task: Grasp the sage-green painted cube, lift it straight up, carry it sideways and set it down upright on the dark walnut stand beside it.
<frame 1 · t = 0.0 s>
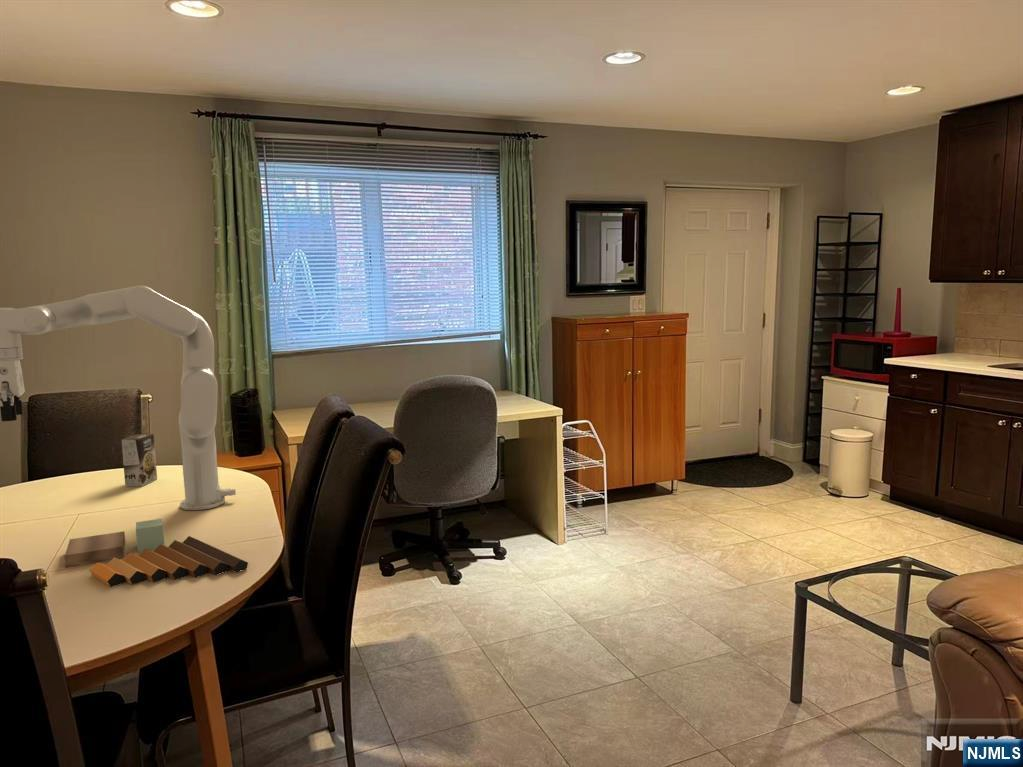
hand: (12, 417, 188), 31 cm above the table, tool pointing down, fingers open, 9 cm apart
sage cube: (151, 546, 179), on the table
pan flute: (170, 575, 162), on the table
walnut stand: (97, 554, 174), on the table
coffee box: (141, 483, 237), on the table
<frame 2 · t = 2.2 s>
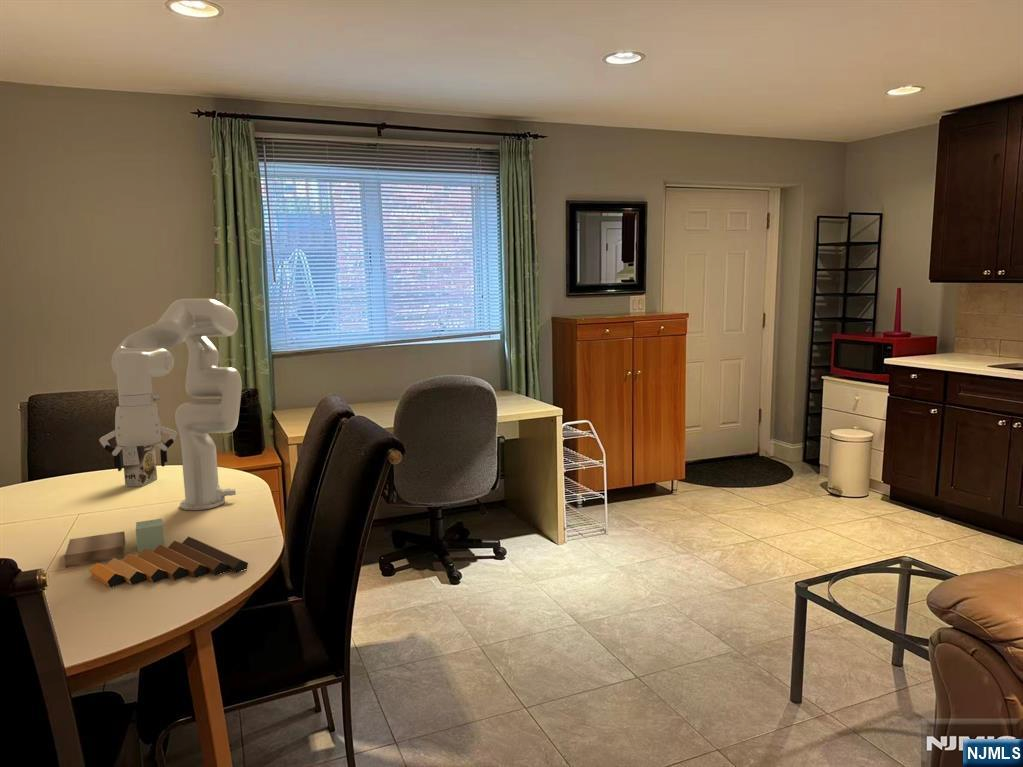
hand: (141, 467, 176), 21 cm above the table, tool pointing down, fingers open, 9 cm apart
nothing on the table moved.
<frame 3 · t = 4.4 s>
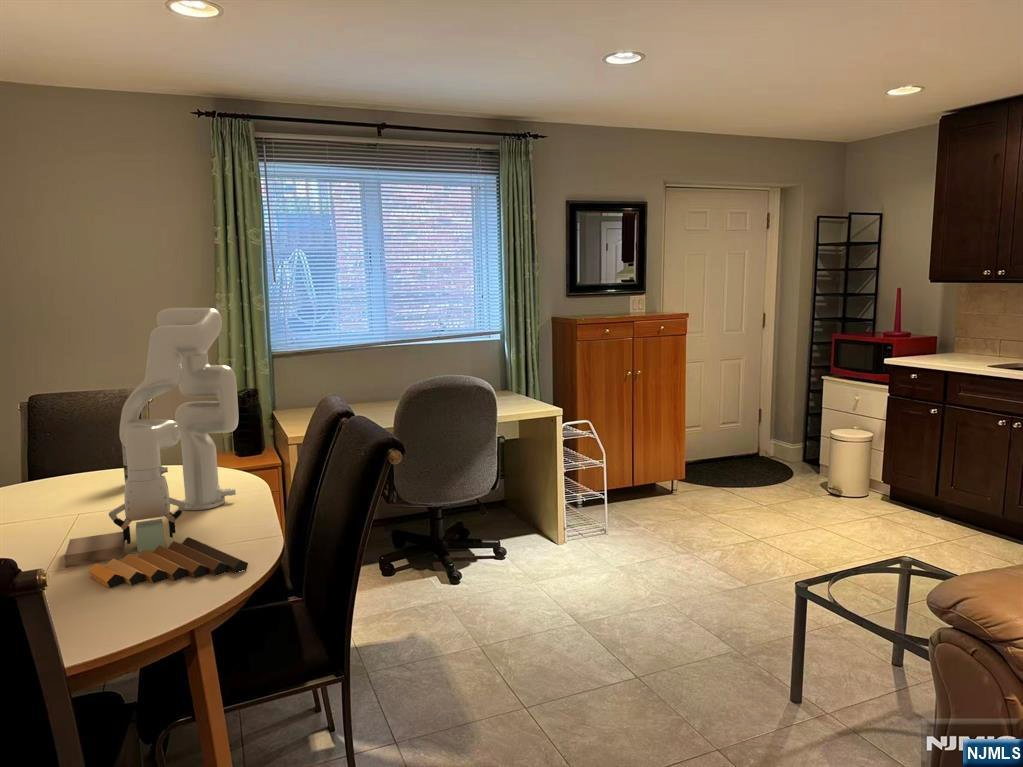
hand: (150, 539, 178), 2 cm above the table, tool pointing down, fingers open, 9 cm apart
nothing on the table moved.
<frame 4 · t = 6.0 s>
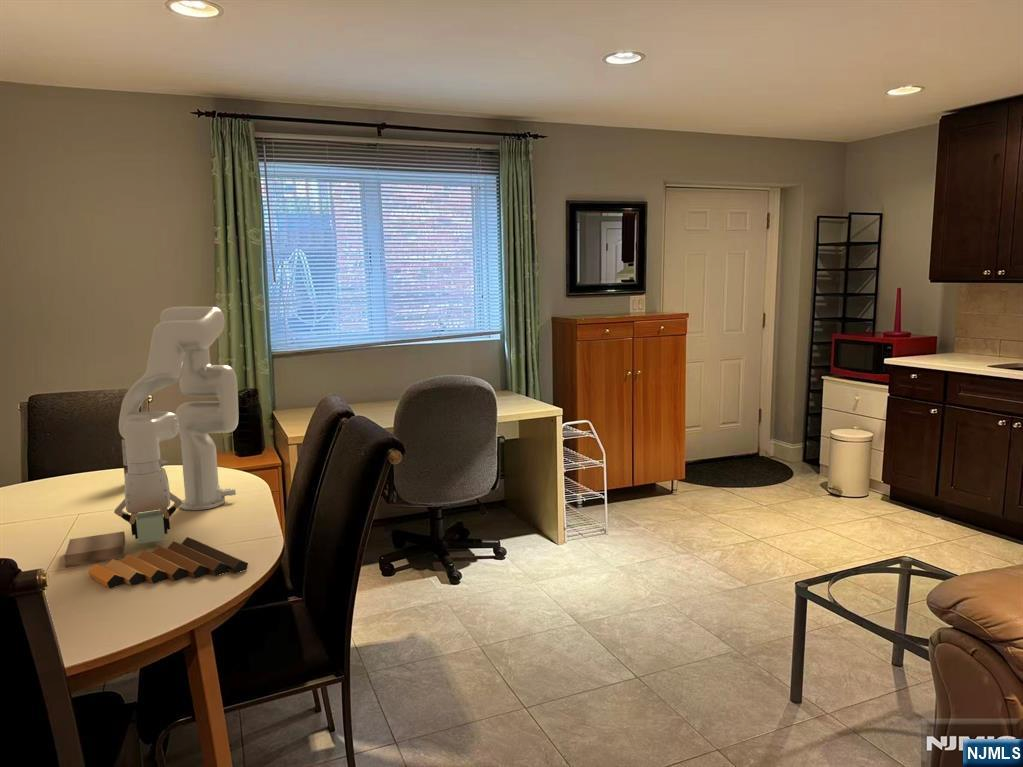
hand: (151, 534, 179), 3 cm above the table, tool pointing down, fingers closed on sage cube, 6 cm apart
sage cube: (151, 537, 179), point 2 cm above the table, touching gripper
everything else where it was.
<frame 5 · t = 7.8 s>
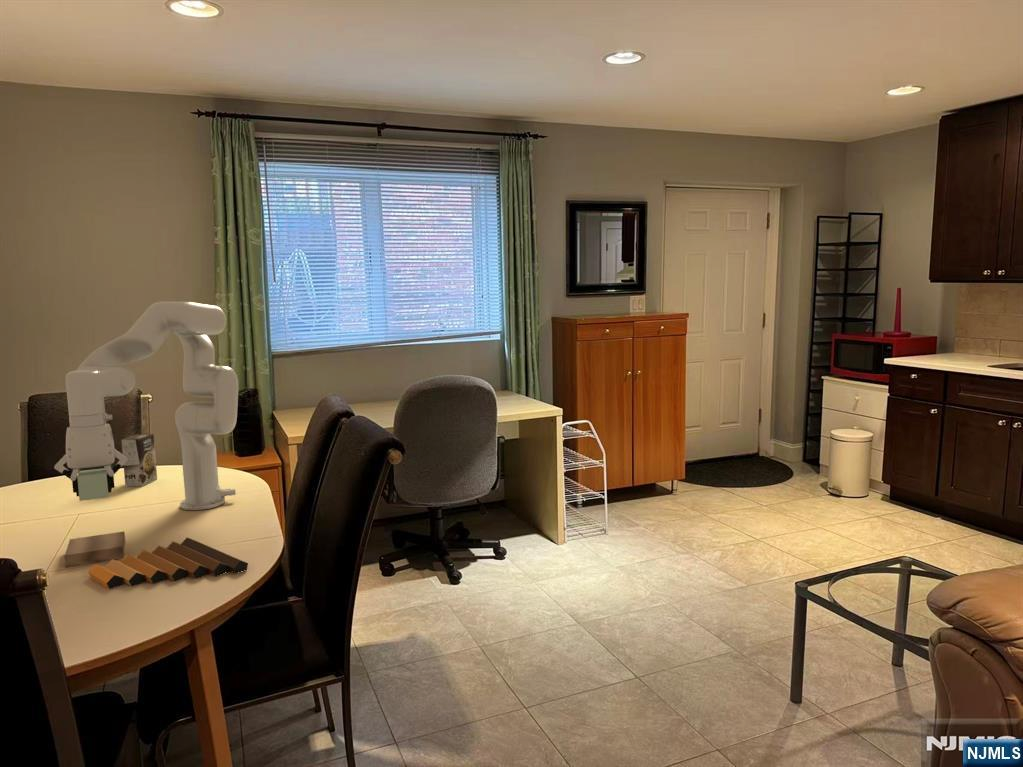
hand: (94, 492, 171), 16 cm above the table, tool pointing down, fingers closed on sage cube, 6 cm apart
sage cube: (94, 495, 172), point 15 cm above the table, touching gripper
everything else where it was.
when the fingers open (5 cm above the table, at t = 10.8 s): sage cube stays where it is, resting on walnut stand.
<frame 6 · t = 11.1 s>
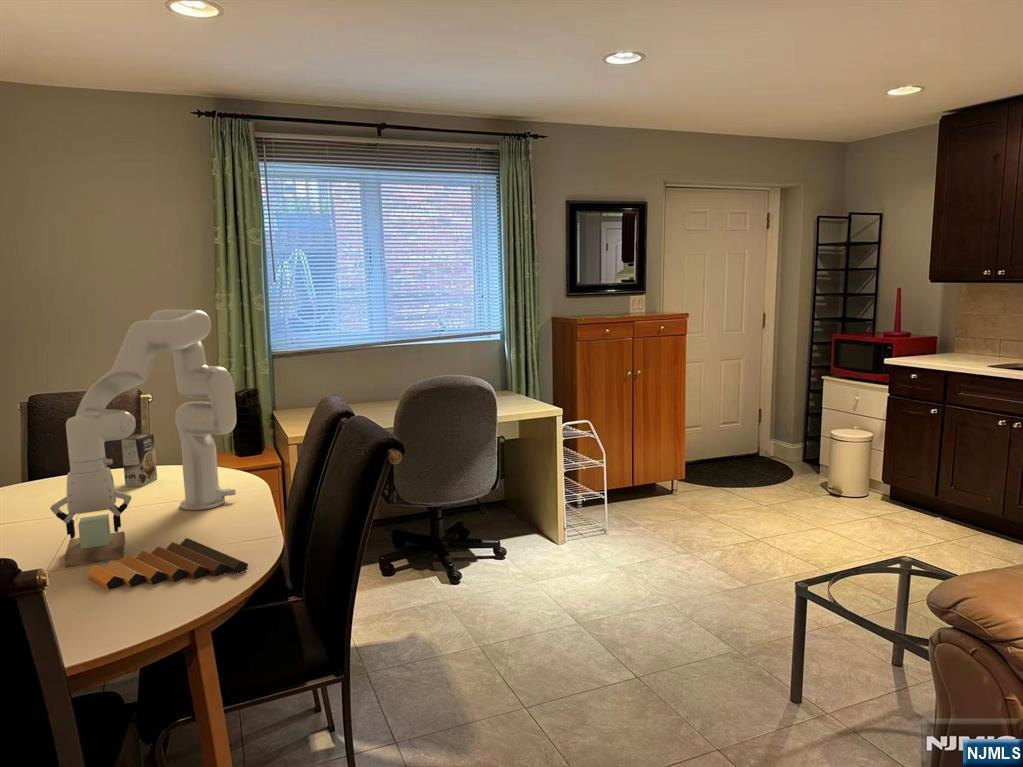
hand: (95, 533, 173), 5 cm above the table, tool pointing down, fingers open, 9 cm apart
sage cube: (96, 542, 173), point 3 cm above the table, touching walnut stand
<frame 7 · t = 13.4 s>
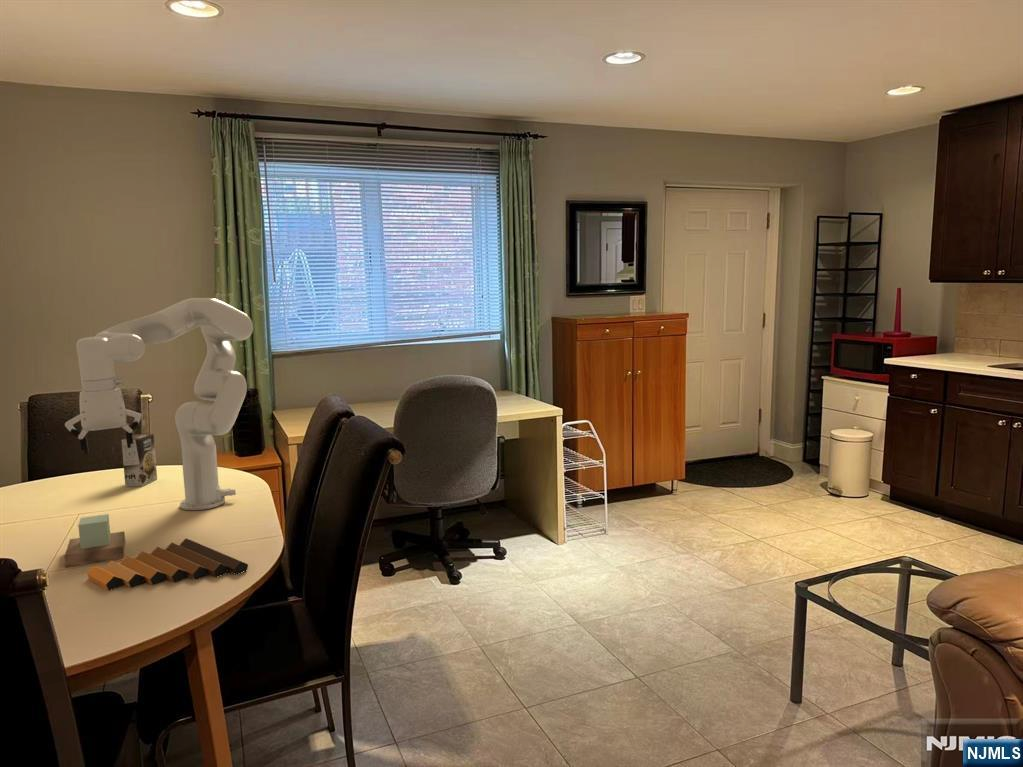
hand: (108, 449, 182), 24 cm above the table, tool pointing down, fingers open, 9 cm apart
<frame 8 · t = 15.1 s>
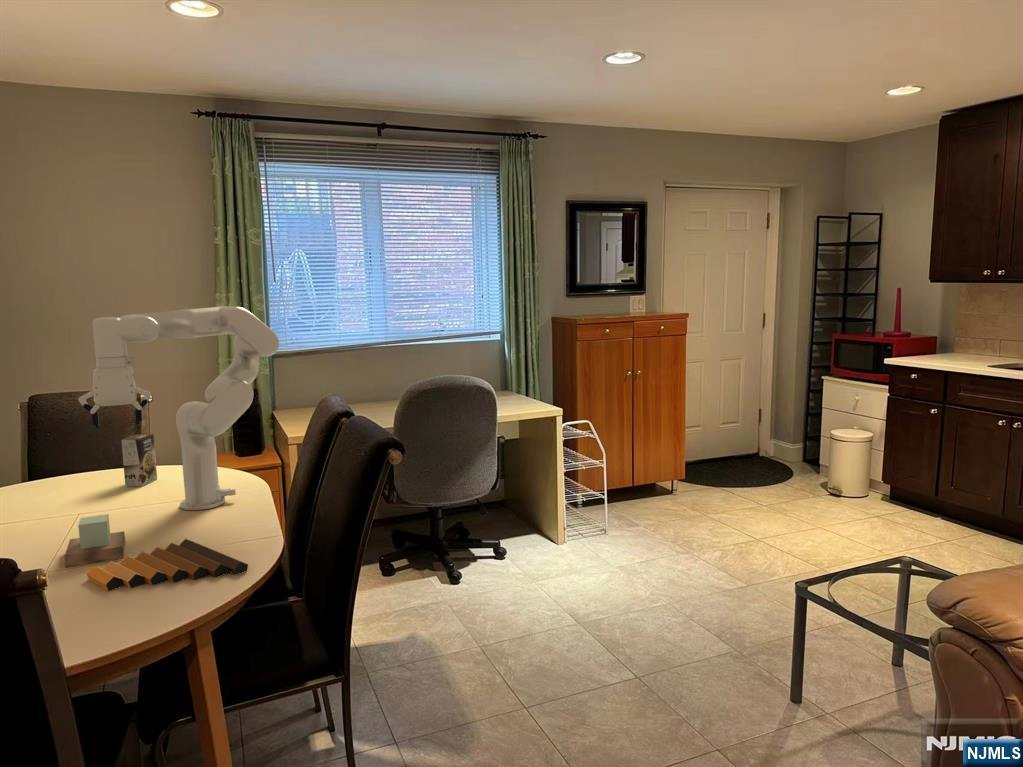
hand: (118, 425, 191), 28 cm above the table, tool pointing down, fingers open, 9 cm apart
at the end: sage cube inside the target area (0.0 cm from its centre), point 3.0 cm above the table; sage cube tilted 0°; the gripper is holding nothing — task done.
